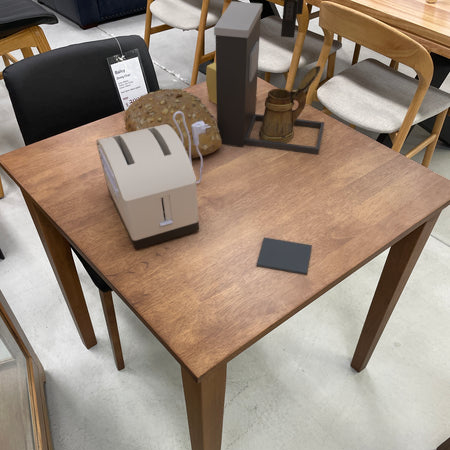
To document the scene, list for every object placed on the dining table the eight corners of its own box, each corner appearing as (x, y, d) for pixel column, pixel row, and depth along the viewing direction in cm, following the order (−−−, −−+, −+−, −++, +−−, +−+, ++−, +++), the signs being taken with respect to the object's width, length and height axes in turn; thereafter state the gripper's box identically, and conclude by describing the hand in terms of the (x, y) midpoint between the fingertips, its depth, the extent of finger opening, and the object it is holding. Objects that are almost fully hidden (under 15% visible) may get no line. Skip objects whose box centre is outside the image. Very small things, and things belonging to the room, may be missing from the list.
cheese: (232, 89, 134) (232, 54, 126) (257, 102, 128) (258, 66, 121) (206, 100, 129) (205, 65, 121) (231, 114, 124) (231, 78, 116)
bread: (119, 130, 119) (110, 85, 109) (191, 112, 125) (188, 68, 116) (151, 177, 105) (144, 131, 96) (230, 154, 111) (230, 109, 102)
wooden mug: (310, 146, 114) (322, 74, 100) (258, 143, 114) (263, 72, 100) (308, 128, 119) (320, 58, 105) (259, 126, 120) (263, 56, 106)
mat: (311, 247, 90) (311, 245, 90) (306, 275, 85) (307, 272, 85) (263, 239, 91) (263, 237, 91) (256, 266, 87) (256, 264, 86)
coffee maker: (324, 124, 121) (345, 10, 99) (317, 157, 110) (339, 38, 89) (230, 113, 125) (231, 1, 103) (216, 144, 114) (214, 27, 93)
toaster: (105, 190, 102) (86, 120, 88) (204, 165, 108) (201, 95, 95) (134, 255, 89) (117, 183, 75) (244, 221, 95) (248, 150, 82)
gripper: (294, -121, 86) (283, 3, 103) (274, -96, 71) (265, 45, 88) (332, -120, 85) (315, 6, 102) (320, -94, 70) (302, 49, 86)
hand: (291, 24), depth 95 cm, fingers open, 13 cm apart
